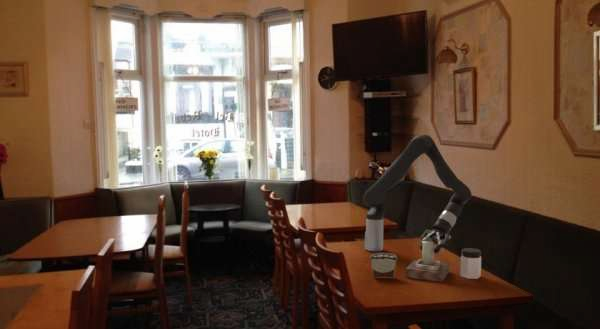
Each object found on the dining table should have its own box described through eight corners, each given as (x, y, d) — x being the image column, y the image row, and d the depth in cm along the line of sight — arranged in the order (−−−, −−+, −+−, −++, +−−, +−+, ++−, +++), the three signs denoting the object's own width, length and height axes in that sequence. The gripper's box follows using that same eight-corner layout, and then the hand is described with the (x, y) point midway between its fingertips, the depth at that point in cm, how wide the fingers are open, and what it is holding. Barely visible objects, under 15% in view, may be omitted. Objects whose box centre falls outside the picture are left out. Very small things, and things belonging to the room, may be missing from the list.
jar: (484, 277, 228) (485, 251, 227) (471, 280, 224) (471, 253, 223) (470, 272, 236) (470, 246, 235) (456, 274, 232) (457, 248, 231)
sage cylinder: (421, 266, 231) (421, 242, 230) (423, 263, 236) (423, 240, 235) (432, 268, 229) (432, 244, 228) (434, 265, 234) (434, 241, 233)
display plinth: (405, 277, 229) (406, 265, 228) (414, 268, 243) (414, 256, 243) (442, 282, 222) (442, 269, 221) (448, 272, 236) (448, 260, 236)
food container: (396, 274, 234) (396, 252, 233) (397, 278, 228) (397, 256, 227) (369, 273, 235) (369, 252, 234) (369, 277, 229) (369, 255, 228)
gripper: (429, 215, 241) (412, 242, 236) (453, 220, 229) (435, 248, 224) (436, 225, 245) (419, 252, 239) (461, 230, 233) (443, 258, 227)
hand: (427, 250), depth 232 cm, fingers open, 8 cm apart
